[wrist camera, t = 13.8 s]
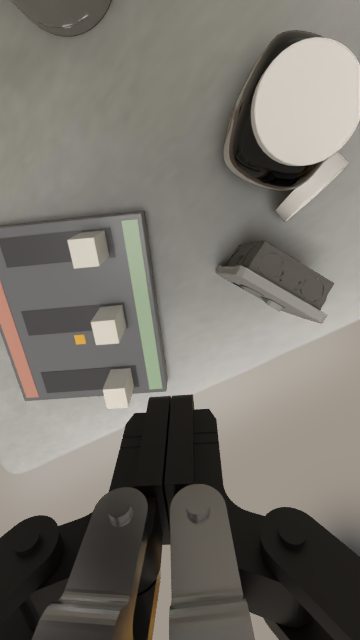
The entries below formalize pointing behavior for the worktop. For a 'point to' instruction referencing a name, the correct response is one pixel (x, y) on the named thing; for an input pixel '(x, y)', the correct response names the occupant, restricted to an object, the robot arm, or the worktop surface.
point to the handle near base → (88, 249)
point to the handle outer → (118, 388)
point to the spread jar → (295, 117)
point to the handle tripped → (108, 325)
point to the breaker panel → (78, 307)
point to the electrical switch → (278, 280)
